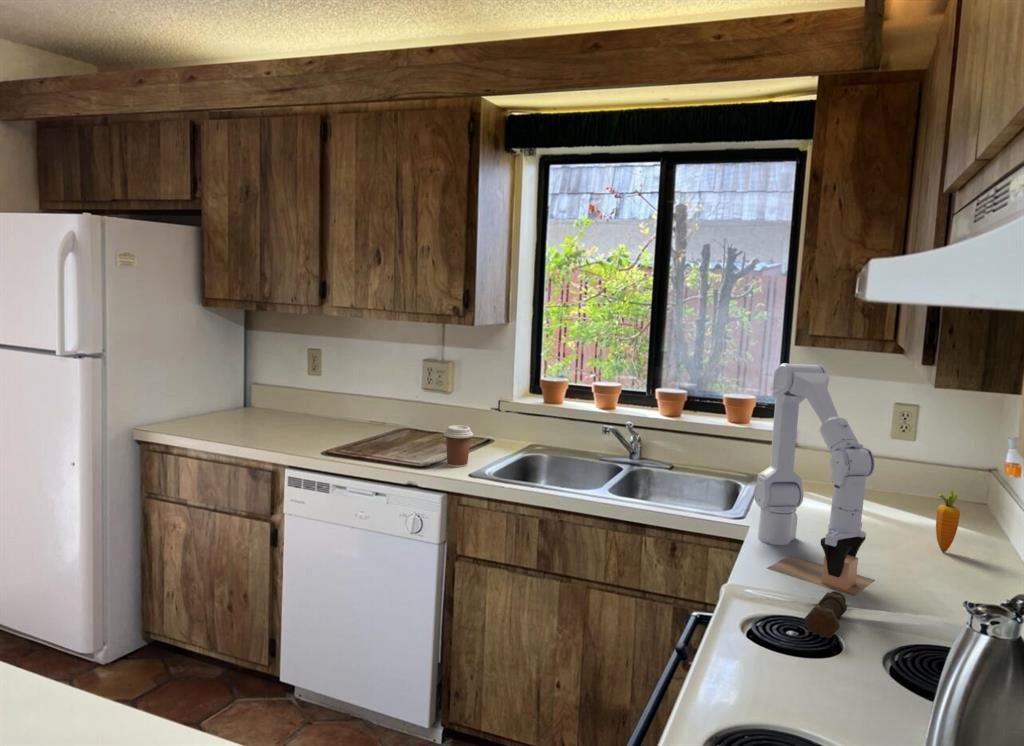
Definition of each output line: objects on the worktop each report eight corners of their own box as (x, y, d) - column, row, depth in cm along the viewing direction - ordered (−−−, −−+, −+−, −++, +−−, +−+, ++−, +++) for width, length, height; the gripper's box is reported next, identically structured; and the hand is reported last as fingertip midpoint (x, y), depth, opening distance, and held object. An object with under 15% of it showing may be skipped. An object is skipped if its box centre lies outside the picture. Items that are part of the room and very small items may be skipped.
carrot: (948, 557, 178) (956, 495, 176) (927, 550, 182) (935, 489, 180) (959, 554, 181) (967, 492, 179) (938, 547, 185) (946, 487, 183)
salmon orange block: (830, 576, 159) (833, 549, 158) (855, 583, 155) (858, 556, 155) (821, 582, 155) (824, 555, 154) (846, 590, 152) (849, 562, 151)
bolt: (839, 618, 147) (823, 645, 134) (816, 600, 149) (798, 624, 136) (858, 597, 145) (844, 623, 132) (835, 578, 147) (819, 602, 134)
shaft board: (789, 561, 170) (791, 539, 170) (874, 586, 158) (876, 563, 158) (765, 574, 162) (768, 552, 161) (853, 602, 149) (856, 578, 149)
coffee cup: (460, 460, 246) (462, 423, 244) (477, 466, 239) (479, 428, 237) (437, 463, 240) (438, 425, 239) (453, 469, 233) (454, 431, 232)
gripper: (854, 519, 145) (846, 587, 147) (880, 505, 156) (872, 568, 157) (817, 510, 150) (810, 576, 152) (844, 496, 160) (837, 558, 162)
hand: (839, 571), depth 155 cm, fingers open, 5 cm apart
